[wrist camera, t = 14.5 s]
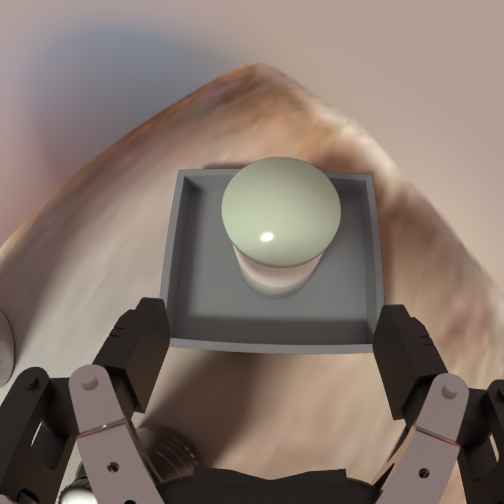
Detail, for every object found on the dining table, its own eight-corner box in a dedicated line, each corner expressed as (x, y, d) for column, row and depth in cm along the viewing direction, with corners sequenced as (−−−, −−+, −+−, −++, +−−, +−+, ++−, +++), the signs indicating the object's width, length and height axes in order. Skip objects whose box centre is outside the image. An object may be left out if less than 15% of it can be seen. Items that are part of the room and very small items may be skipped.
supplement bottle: (154, 502, 18) (90, 570, 7) (113, 438, 20) (22, 475, 9) (221, 479, 19) (186, 562, 8) (177, 411, 21) (103, 452, 10)
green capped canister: (237, 298, 23) (216, 260, 14) (242, 228, 25) (227, 155, 16) (313, 301, 23) (343, 265, 14) (313, 231, 25) (336, 160, 15)
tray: (168, 346, 23) (155, 344, 20) (186, 187, 27) (178, 169, 25) (371, 352, 22) (384, 351, 19) (362, 192, 26) (371, 175, 24)
